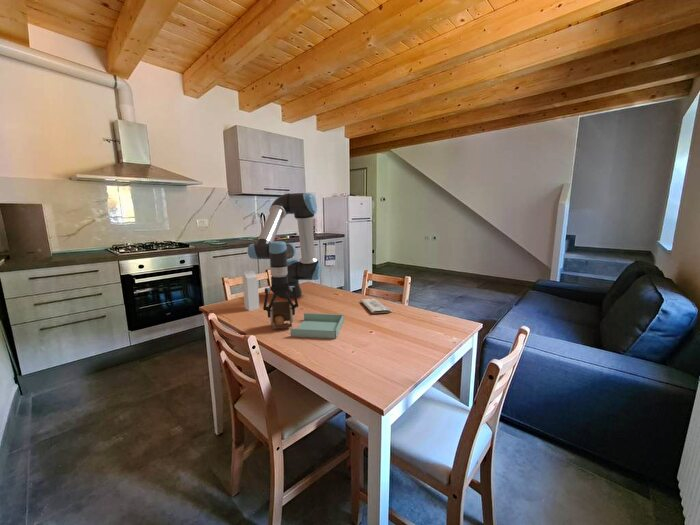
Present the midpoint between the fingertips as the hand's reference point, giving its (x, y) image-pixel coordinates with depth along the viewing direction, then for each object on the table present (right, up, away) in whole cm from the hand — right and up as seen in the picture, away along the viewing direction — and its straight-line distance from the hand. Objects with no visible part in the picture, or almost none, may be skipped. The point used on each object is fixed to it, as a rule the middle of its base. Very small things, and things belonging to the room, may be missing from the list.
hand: (281, 322), depth 134 cm
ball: (-2, 0, +1) cm, 2 cm away
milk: (-23, +2, +26) cm, 34 cm away
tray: (+18, -2, -2) cm, 18 cm away
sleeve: (0, -1, 0) cm, 1 cm away
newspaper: (+47, +2, +27) cm, 54 cm away
